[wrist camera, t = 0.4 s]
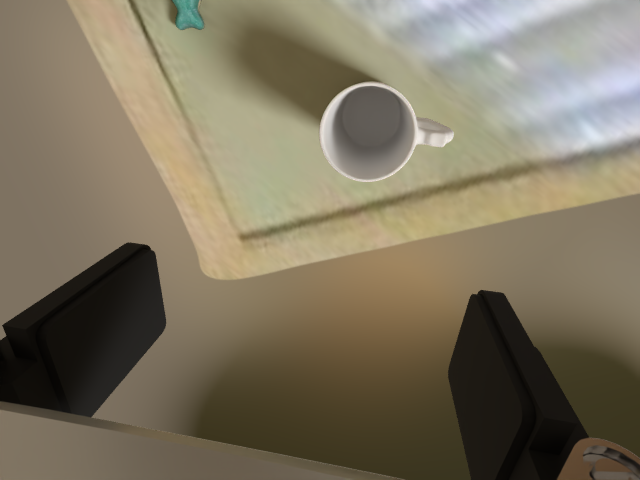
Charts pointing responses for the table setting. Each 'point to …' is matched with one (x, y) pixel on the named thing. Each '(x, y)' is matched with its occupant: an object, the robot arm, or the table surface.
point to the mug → (374, 131)
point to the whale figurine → (188, 14)
